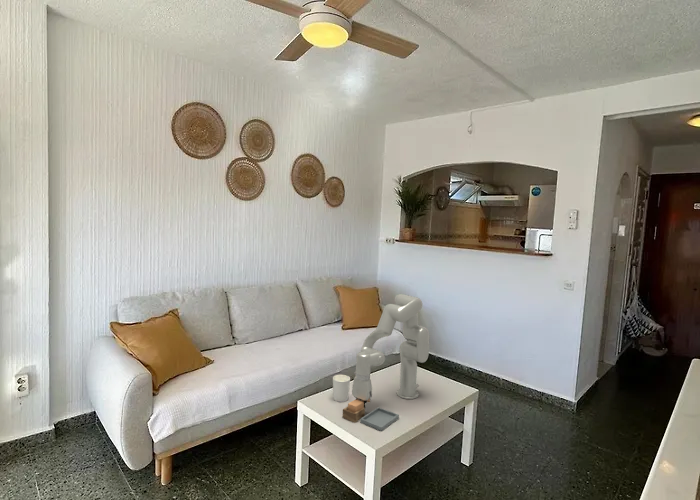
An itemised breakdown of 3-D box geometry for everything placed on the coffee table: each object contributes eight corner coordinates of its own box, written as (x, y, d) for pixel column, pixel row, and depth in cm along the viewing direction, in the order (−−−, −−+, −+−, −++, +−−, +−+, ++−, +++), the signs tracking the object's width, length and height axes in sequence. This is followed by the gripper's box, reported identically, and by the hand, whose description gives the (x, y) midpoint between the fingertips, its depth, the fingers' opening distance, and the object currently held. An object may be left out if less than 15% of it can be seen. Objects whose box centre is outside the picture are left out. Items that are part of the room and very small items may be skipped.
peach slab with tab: (360, 409, 209) (360, 396, 208) (367, 412, 206) (368, 399, 205) (347, 416, 200) (348, 403, 199) (355, 420, 197) (355, 406, 196)
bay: (352, 411, 205) (352, 403, 205) (364, 416, 201) (364, 408, 200) (342, 417, 199) (342, 409, 198) (354, 422, 194) (355, 414, 194)
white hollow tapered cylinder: (335, 403, 214) (336, 382, 213) (329, 396, 223) (330, 375, 222) (352, 401, 218) (353, 380, 217) (345, 393, 227) (346, 373, 226)
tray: (378, 410, 208) (378, 406, 208) (398, 418, 200) (399, 414, 200) (360, 422, 194) (360, 418, 194) (381, 431, 187) (381, 427, 187)
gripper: (346, 374, 206) (345, 408, 207) (370, 382, 196) (369, 417, 198) (355, 370, 211) (354, 403, 213) (379, 378, 202) (377, 412, 204)
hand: (361, 410), depth 205 cm, fingers closed on peach slab with tab, 1 cm apart
